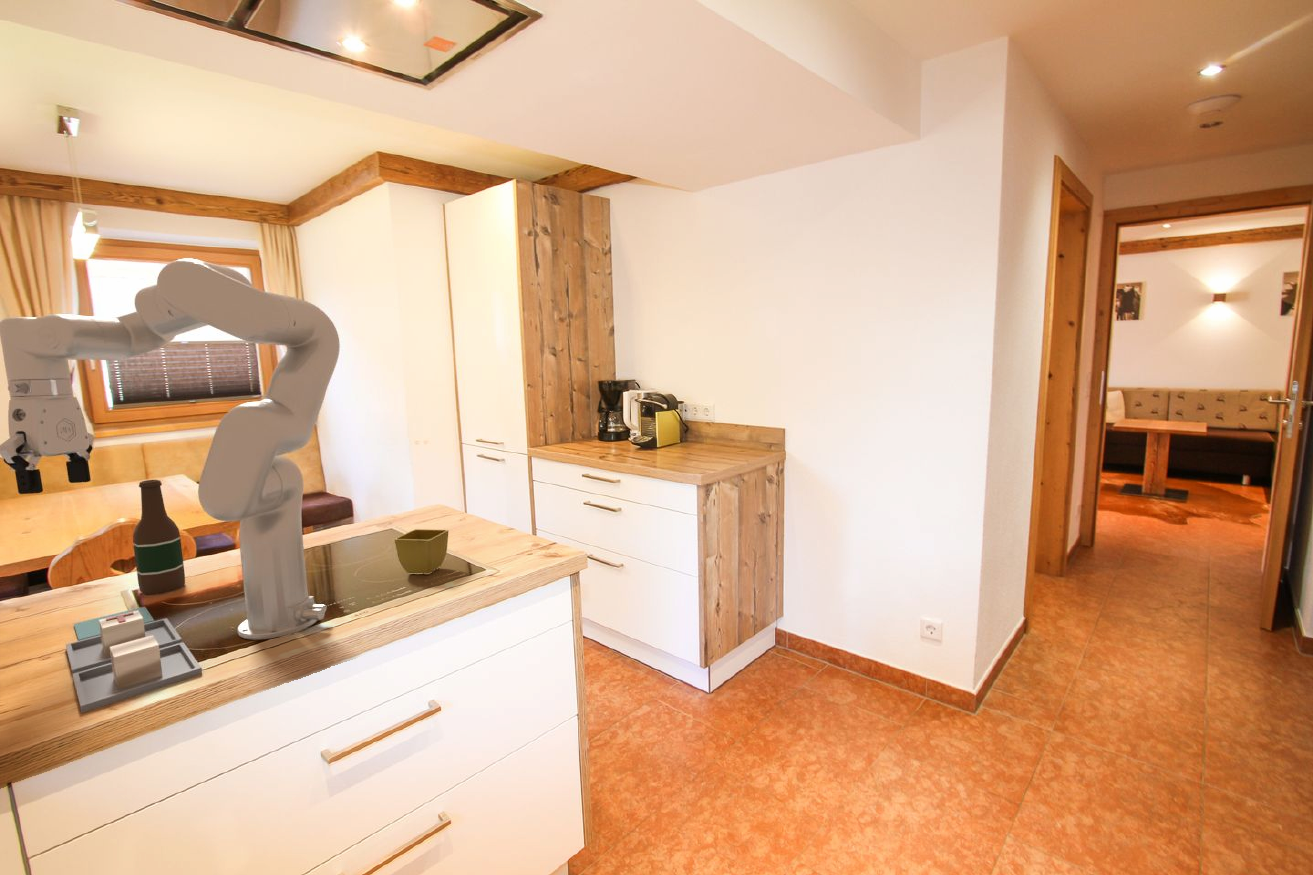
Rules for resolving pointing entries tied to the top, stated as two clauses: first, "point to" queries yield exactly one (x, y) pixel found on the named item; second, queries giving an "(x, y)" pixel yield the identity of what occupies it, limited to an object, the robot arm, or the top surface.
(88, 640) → the dish far
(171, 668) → the dish near
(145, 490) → the beer bottle
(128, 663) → the plain cube
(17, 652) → the top surface
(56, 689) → the top surface
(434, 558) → the flower pot
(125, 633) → the letter cube
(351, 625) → the top surface
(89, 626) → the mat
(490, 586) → the top surface
